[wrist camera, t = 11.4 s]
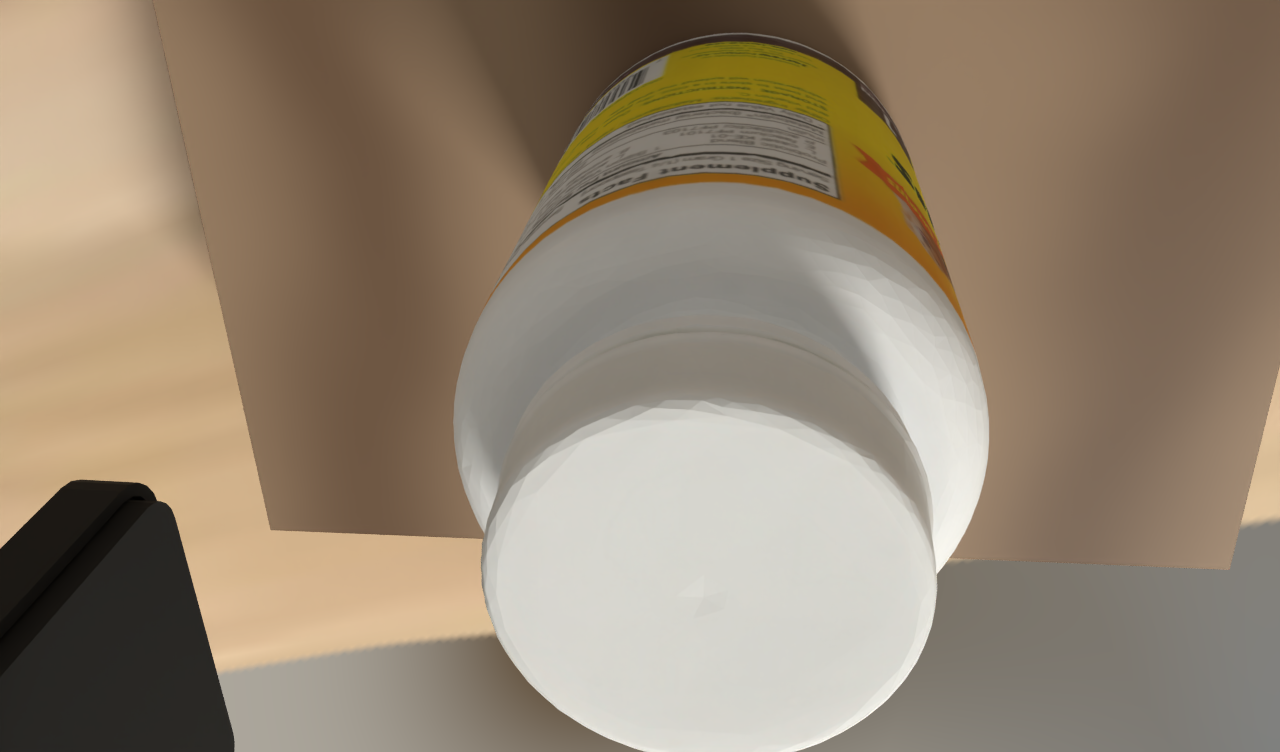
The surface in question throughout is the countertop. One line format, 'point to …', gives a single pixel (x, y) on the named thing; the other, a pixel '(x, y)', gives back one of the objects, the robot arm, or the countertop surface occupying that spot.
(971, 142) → the walnut riser
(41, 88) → the countertop surface
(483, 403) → the supplement bottle
